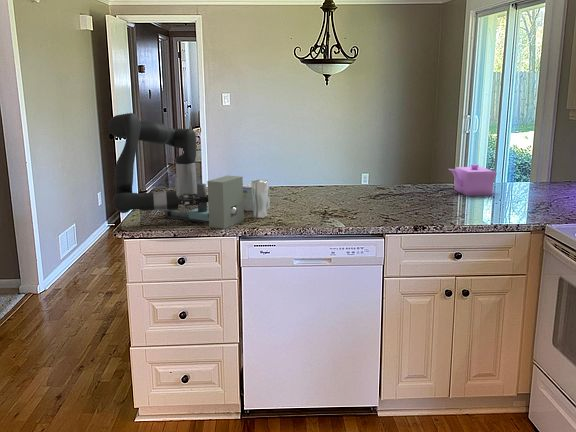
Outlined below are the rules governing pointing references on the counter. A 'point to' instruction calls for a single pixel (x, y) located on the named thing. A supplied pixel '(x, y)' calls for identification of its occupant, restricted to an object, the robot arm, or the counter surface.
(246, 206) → the light bulb box
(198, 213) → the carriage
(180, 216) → the rail
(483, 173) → the teapot
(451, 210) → the counter surface
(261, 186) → the beer glass
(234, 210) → the gauge plunger
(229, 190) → the end cabinet
